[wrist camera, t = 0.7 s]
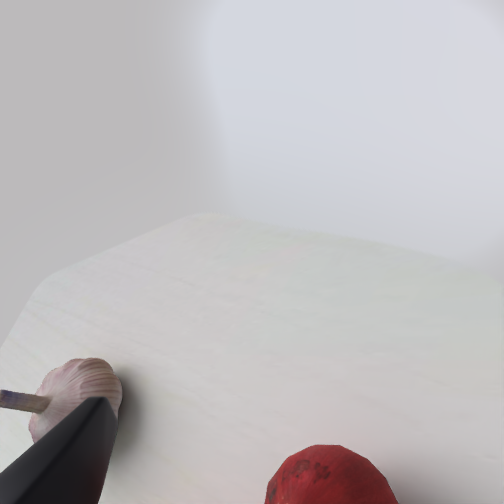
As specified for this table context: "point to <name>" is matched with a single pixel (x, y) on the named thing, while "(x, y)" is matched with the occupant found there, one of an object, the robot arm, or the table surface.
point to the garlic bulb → (65, 393)
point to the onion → (328, 479)
